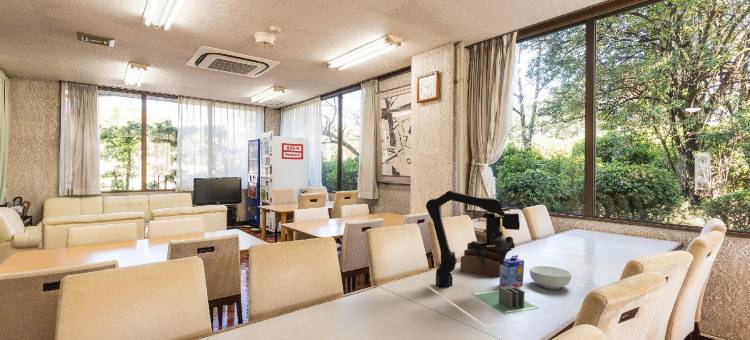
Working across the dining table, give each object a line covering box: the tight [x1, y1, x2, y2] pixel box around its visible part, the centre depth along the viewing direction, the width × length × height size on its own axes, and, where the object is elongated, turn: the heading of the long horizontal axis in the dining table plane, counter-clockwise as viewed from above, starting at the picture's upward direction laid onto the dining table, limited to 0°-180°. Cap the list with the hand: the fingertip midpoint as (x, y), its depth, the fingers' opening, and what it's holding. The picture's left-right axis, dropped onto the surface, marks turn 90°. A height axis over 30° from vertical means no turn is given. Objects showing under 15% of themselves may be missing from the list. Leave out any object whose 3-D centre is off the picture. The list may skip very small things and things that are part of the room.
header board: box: [471, 289, 540, 314], centre depth 138 cm, size 16×20×3 cm
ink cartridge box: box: [499, 254, 525, 288], centre depth 156 cm, size 10×6×14 cm, turn 118°
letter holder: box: [459, 242, 500, 278], centre depth 177 cm, size 10×20×14 cm, turn 54°
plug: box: [498, 286, 525, 309], centre depth 134 cm, size 6×6×6 cm
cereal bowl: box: [529, 265, 572, 290], centre depth 158 cm, size 17×17×7 cm
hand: (492, 265), depth 148 cm, fingers open, 9 cm apart
